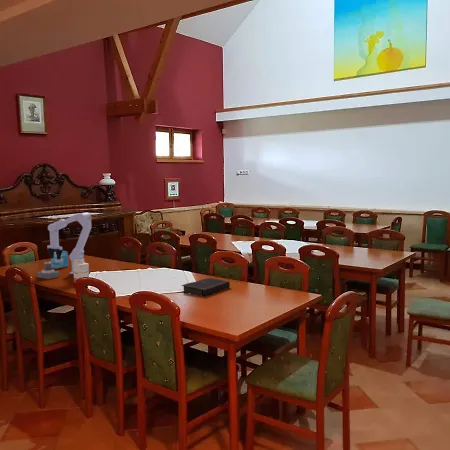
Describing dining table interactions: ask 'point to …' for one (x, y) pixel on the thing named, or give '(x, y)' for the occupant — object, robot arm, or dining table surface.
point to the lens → (48, 266)
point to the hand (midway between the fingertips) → (55, 258)
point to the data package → (60, 260)
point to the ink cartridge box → (80, 269)
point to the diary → (206, 286)
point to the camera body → (48, 274)
